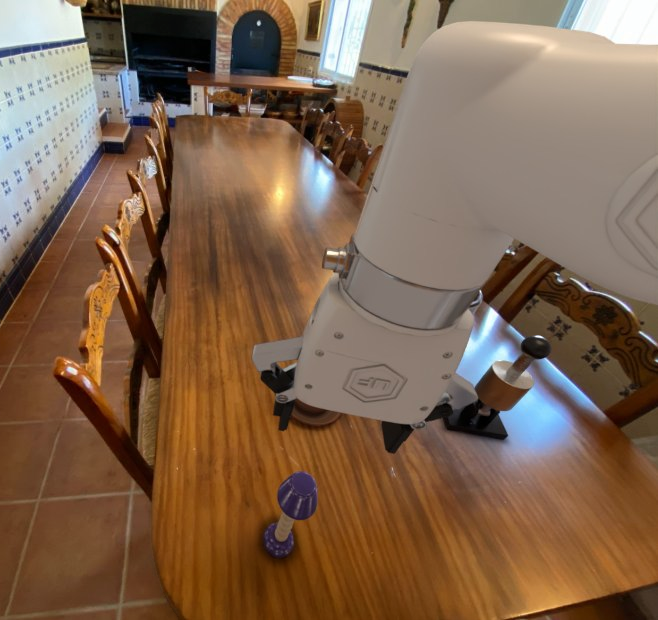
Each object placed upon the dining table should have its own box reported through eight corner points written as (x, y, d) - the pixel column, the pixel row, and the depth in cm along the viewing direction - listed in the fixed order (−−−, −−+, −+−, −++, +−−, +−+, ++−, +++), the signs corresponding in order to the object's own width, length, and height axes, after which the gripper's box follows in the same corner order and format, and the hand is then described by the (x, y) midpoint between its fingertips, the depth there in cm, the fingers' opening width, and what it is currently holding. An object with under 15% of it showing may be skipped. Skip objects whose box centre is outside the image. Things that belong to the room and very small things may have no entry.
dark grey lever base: (504, 440, 64) (528, 416, 59) (446, 429, 65) (466, 405, 60) (484, 397, 71) (505, 373, 67) (433, 388, 72) (449, 364, 68)
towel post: (503, 430, 62) (576, 357, 50) (467, 424, 62) (531, 349, 51) (489, 402, 67) (553, 329, 55) (456, 396, 67) (512, 322, 55)
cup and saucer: (272, 378, 71) (277, 357, 67) (330, 376, 73) (337, 355, 69) (285, 432, 62) (291, 412, 58) (350, 428, 64) (361, 408, 60)
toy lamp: (264, 517, 52) (282, 460, 41) (296, 522, 51) (323, 467, 41) (261, 555, 48) (281, 503, 37) (296, 561, 48) (325, 511, 37)
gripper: (261, 290, 20) (236, 445, 31) (589, 345, 19) (440, 488, 30) (273, 229, 26) (248, 379, 37) (525, 268, 24) (420, 412, 35)
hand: (334, 427), depth 33 cm, fingers open, 9 cm apart
